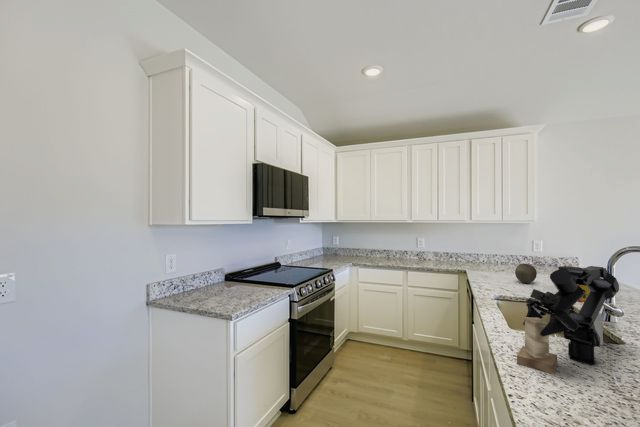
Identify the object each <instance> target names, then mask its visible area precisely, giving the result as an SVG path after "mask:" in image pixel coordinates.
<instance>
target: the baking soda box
mask: <svg viewBox="0 0 640 427" xmlns="http://www.w3.org/2000/svg"><path fill="white" fill-rule="evenodd" d="M578 286H580V287H581V288H582V289H583V290H585V291H586V292H585V294H586V298H587V297H588V295H589V293H590V291H589V287H588V286H583V285H578ZM586 298H585V299H584V298H581V299H579V300H578V301H577V303H582V302H585V300H586Z"/></svg>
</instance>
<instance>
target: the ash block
mask: <svg viewBox="0 0 640 427" xmlns="http://www.w3.org/2000/svg"><path fill="white" fill-rule="evenodd" d="M524 320H525V326H524V347H525V351H526V352H527V353H528V354H530V355H531V356H533V357H534V358H541V359H549V353H550V335H547V336H541V335H540V333H541V331H542V330H543V329H544V328H545V326H546V325H547V324H548V323H549V322H548V321H545V320H544V319H543V318H541V319H540V318H532V317H526V316H525V317H524Z"/></svg>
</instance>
